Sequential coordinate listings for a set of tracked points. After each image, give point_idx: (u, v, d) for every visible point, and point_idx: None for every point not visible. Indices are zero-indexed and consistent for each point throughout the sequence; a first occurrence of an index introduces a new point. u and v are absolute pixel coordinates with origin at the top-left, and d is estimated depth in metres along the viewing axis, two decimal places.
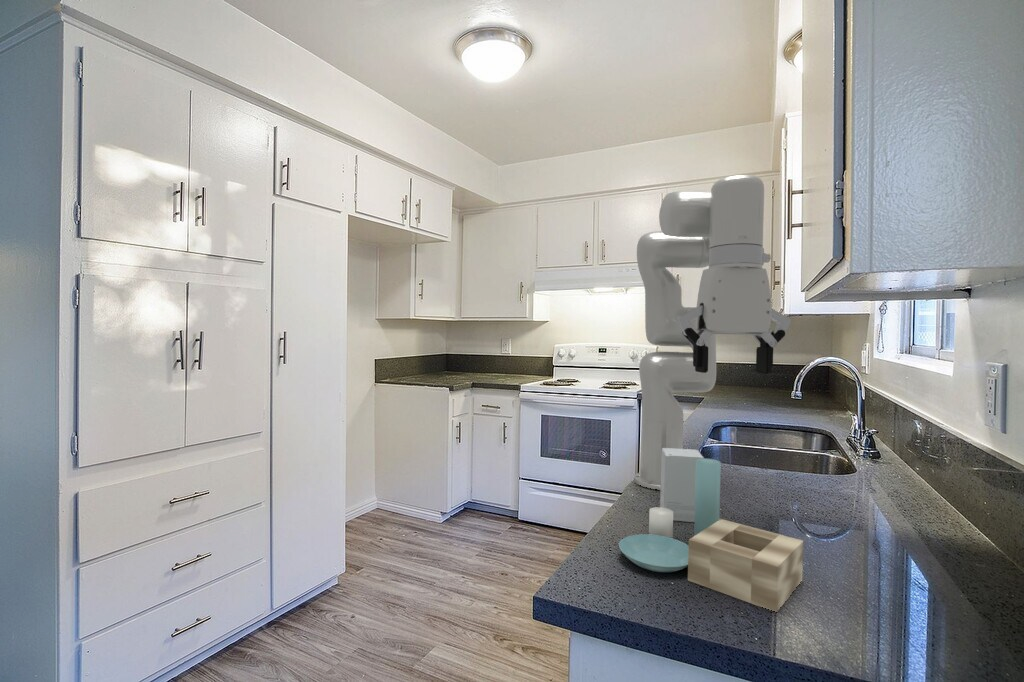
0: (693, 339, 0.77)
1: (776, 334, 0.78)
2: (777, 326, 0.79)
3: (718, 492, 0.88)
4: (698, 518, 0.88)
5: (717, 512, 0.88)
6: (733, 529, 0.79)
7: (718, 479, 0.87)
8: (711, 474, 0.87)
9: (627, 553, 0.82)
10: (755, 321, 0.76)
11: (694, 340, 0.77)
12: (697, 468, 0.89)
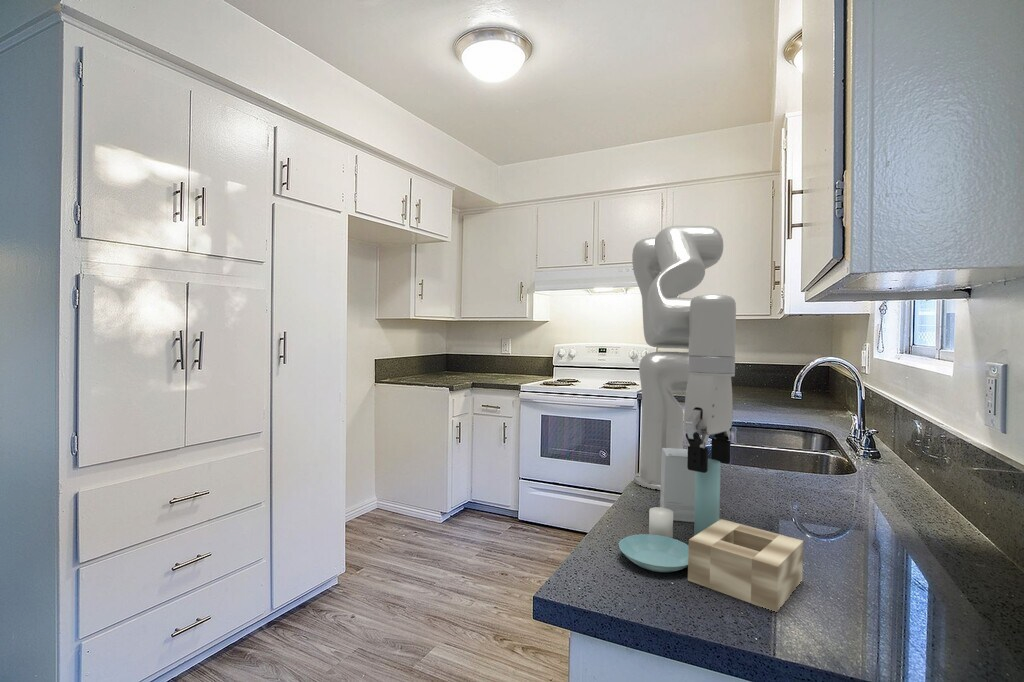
0: (698, 443, 0.83)
1: (728, 428, 0.93)
2: None
3: (718, 492, 0.88)
4: (698, 518, 0.88)
5: (717, 512, 0.88)
6: (733, 529, 0.79)
7: (717, 479, 0.87)
8: (710, 474, 0.87)
9: (627, 553, 0.82)
10: (728, 421, 0.89)
11: (698, 443, 0.83)
12: None
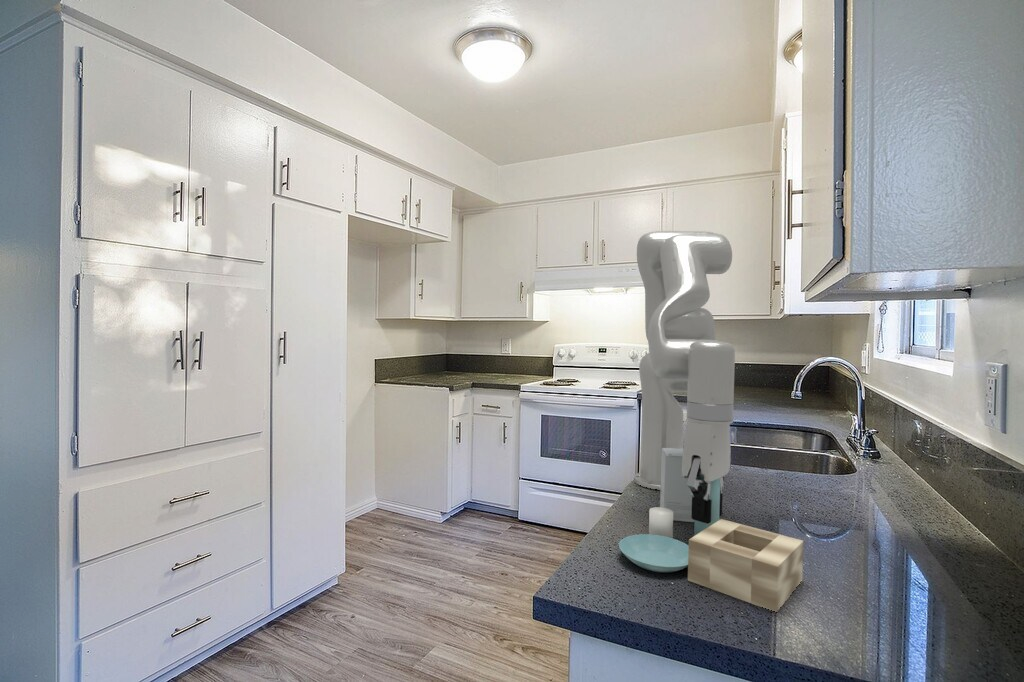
0: (702, 495, 0.86)
1: None
2: None
3: (718, 492, 0.88)
4: None
5: (717, 512, 0.88)
6: (733, 529, 0.79)
7: (718, 479, 0.87)
8: None
9: (627, 553, 0.82)
10: (726, 466, 0.89)
11: (702, 498, 0.86)
12: None
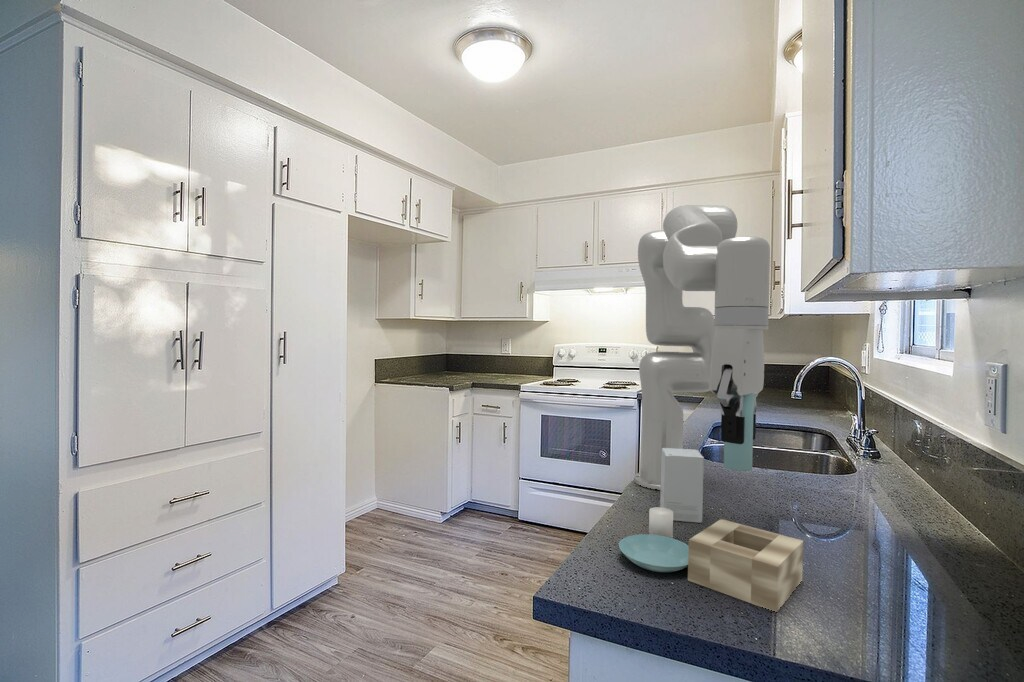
0: (734, 411, 0.75)
1: None
2: None
3: (752, 409, 0.77)
4: None
5: (751, 432, 0.77)
6: (733, 529, 0.79)
7: (751, 394, 0.76)
8: None
9: (627, 553, 0.82)
10: (759, 381, 0.78)
11: (734, 414, 0.75)
12: None
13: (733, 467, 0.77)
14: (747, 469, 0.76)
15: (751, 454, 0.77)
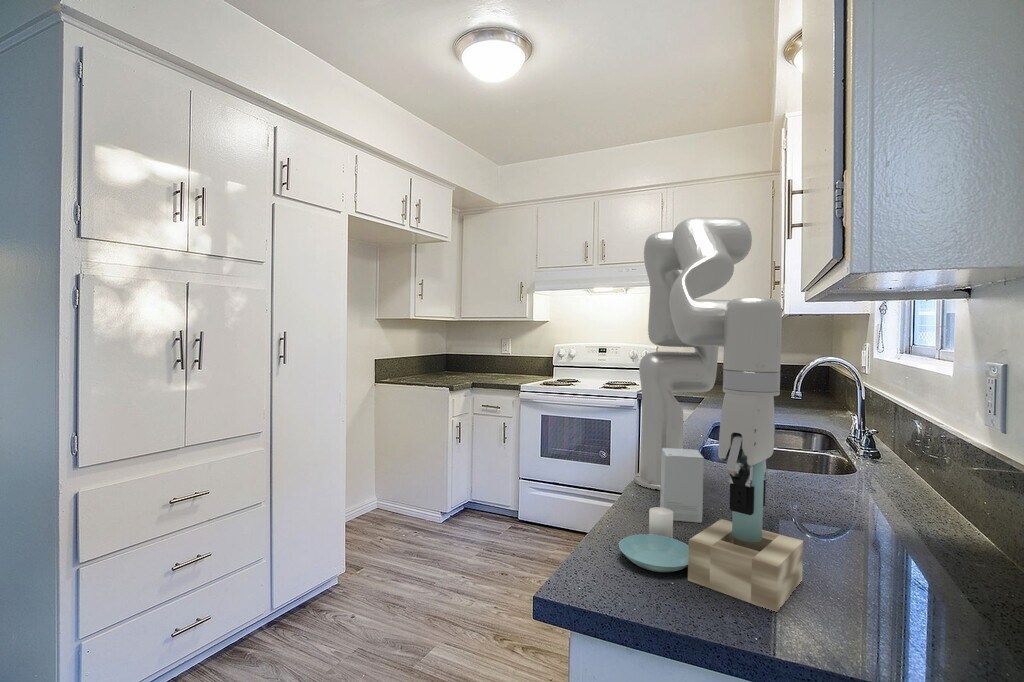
0: (744, 481, 0.71)
1: None
2: None
3: (762, 477, 0.73)
4: None
5: (761, 501, 0.73)
6: None
7: (761, 462, 0.73)
8: None
9: (627, 553, 0.82)
10: (770, 447, 0.75)
11: (744, 484, 0.72)
12: None
13: (742, 537, 0.73)
14: (757, 540, 0.73)
15: (761, 524, 0.74)
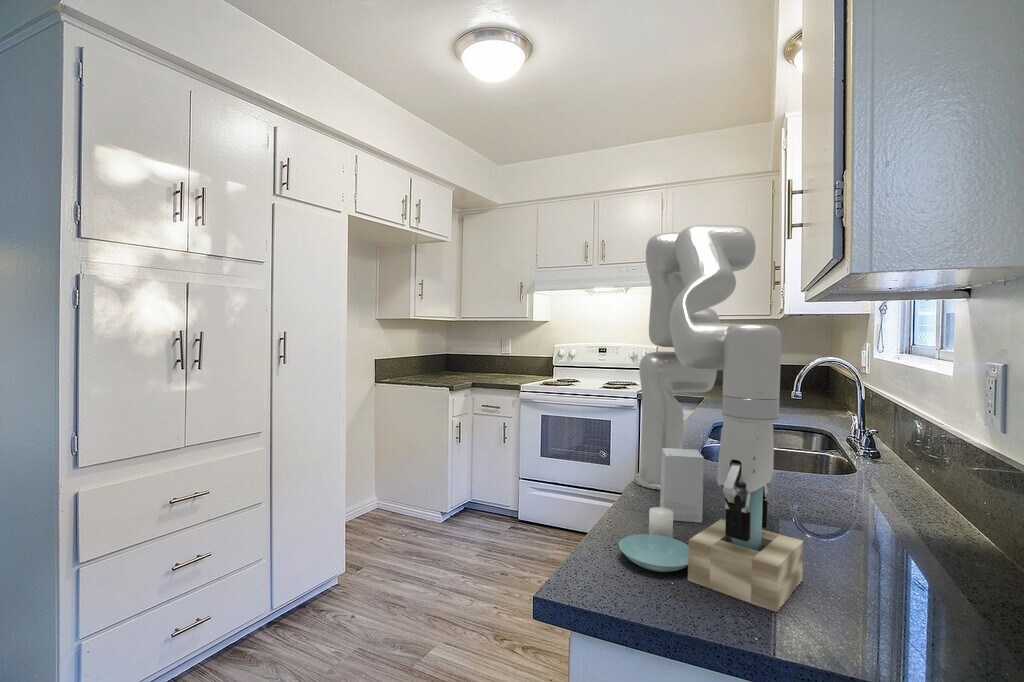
0: (740, 507, 0.71)
1: None
2: None
3: (760, 523, 0.74)
4: None
5: (759, 547, 0.74)
6: None
7: (760, 508, 0.73)
8: (752, 501, 0.73)
9: (627, 553, 0.82)
10: (769, 472, 0.75)
11: (740, 509, 0.71)
12: None
13: None
14: None
15: None
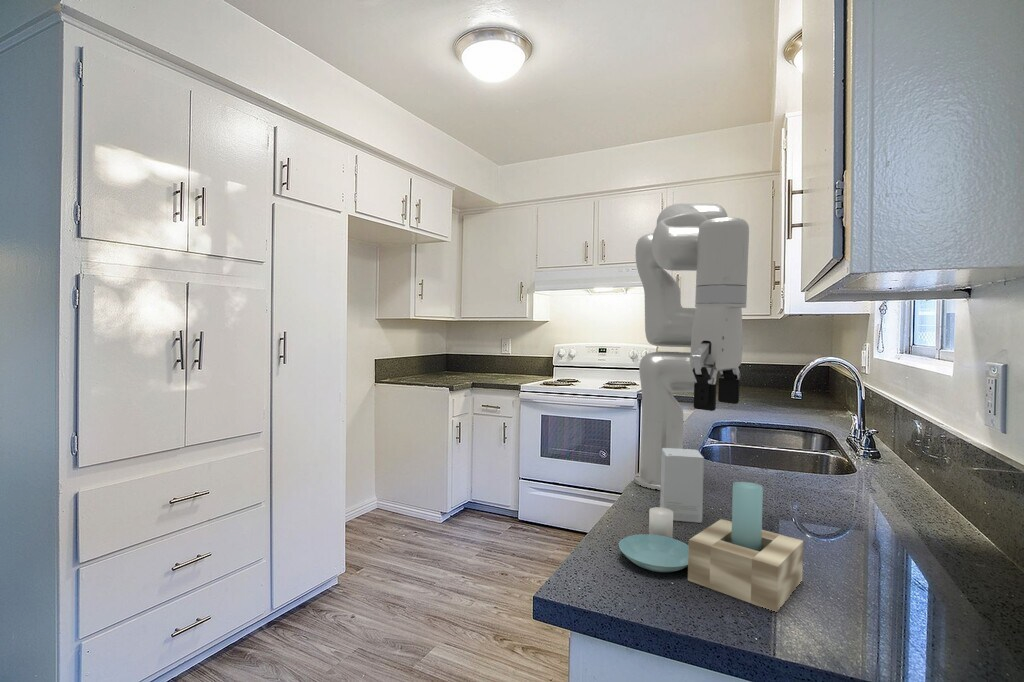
0: (706, 378, 0.76)
1: None
2: None
3: (760, 523, 0.74)
4: None
5: (759, 547, 0.74)
6: None
7: (760, 508, 0.73)
8: (751, 501, 0.73)
9: (627, 553, 0.82)
10: (737, 357, 0.82)
11: (706, 379, 0.77)
12: (734, 494, 0.75)
13: None
14: None
15: None
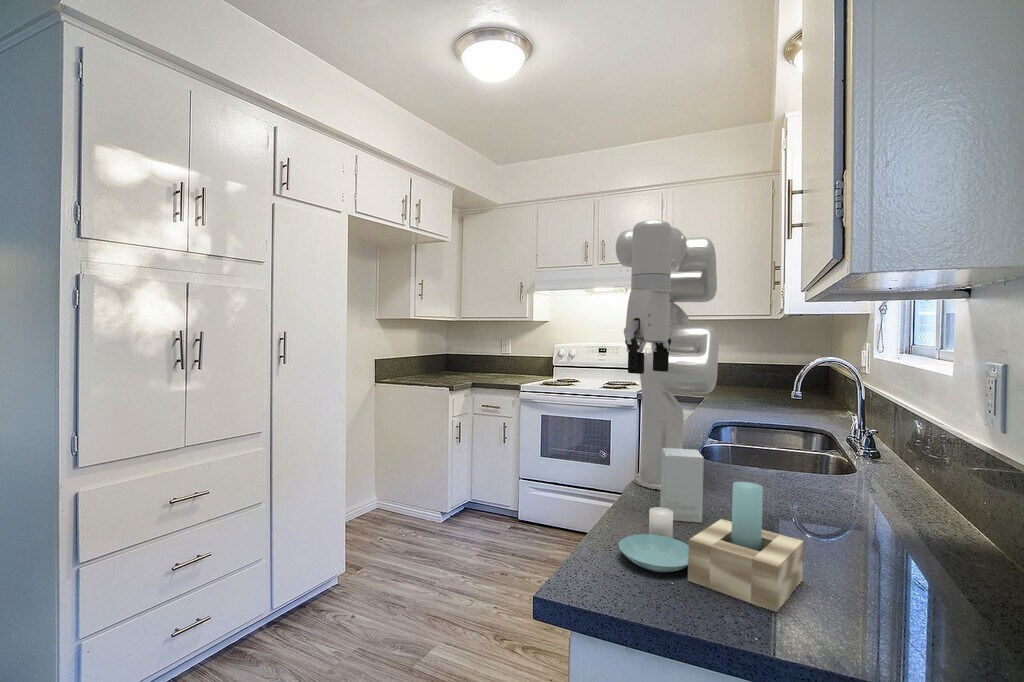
0: (635, 347, 0.96)
1: (667, 342, 1.05)
2: None
3: (760, 523, 0.74)
4: None
5: (759, 547, 0.74)
6: None
7: (760, 508, 0.73)
8: (751, 501, 0.73)
9: (627, 553, 0.82)
10: (665, 332, 1.01)
11: (636, 348, 0.96)
12: (735, 494, 0.75)
13: None
14: None
15: None
